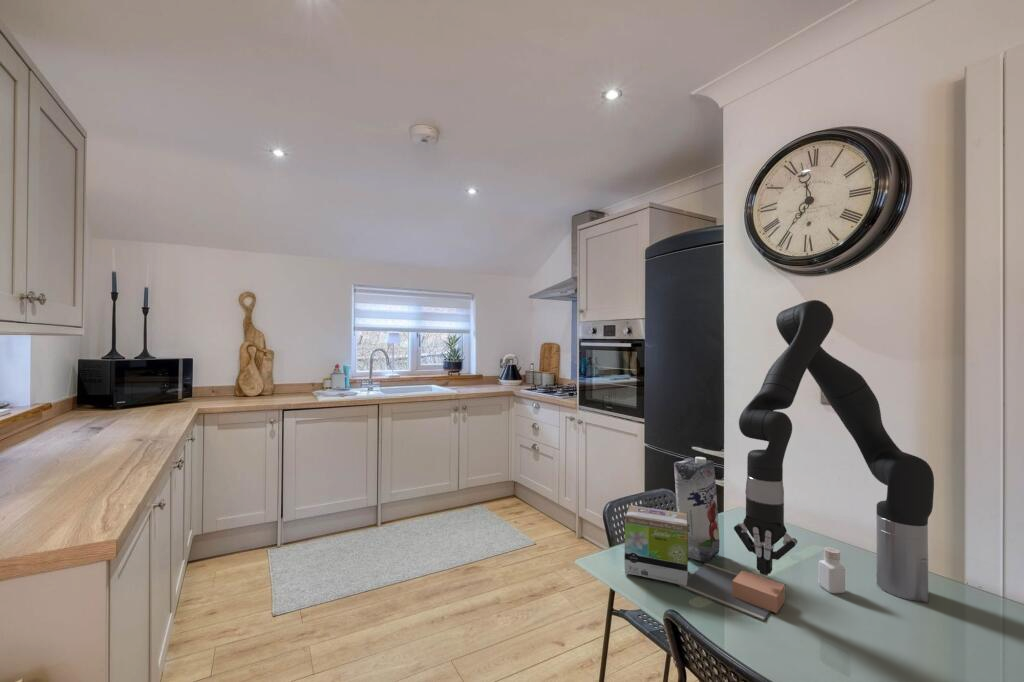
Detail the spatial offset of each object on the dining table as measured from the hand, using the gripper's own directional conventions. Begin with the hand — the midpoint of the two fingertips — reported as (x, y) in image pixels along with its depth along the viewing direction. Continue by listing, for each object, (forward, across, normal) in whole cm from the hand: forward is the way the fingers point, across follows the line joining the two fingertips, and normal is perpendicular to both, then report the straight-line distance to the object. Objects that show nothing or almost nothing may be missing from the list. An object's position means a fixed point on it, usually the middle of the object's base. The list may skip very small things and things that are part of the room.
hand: (764, 573), depth 98 cm
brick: (+4, -3, 0) cm, 6 cm away
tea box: (+6, +23, +6) cm, 25 cm away
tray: (+6, +7, 0) cm, 10 cm away
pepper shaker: (+7, -10, -18) cm, 22 cm away
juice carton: (+6, +19, -12) cm, 23 cm away
